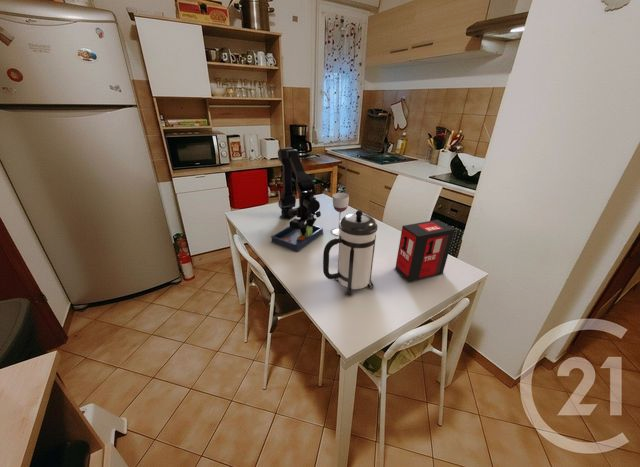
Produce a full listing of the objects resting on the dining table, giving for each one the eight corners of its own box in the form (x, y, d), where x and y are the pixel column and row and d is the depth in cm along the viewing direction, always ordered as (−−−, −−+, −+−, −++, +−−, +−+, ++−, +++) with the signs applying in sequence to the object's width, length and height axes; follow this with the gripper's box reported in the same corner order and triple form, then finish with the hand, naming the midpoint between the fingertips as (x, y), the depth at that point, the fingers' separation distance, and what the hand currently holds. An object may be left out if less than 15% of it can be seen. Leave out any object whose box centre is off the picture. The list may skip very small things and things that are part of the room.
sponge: (304, 232, 134) (304, 224, 132) (312, 235, 132) (312, 227, 130) (299, 235, 131) (299, 227, 129) (307, 238, 129) (307, 230, 127)
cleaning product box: (408, 282, 100) (418, 236, 91) (395, 269, 108) (402, 225, 99) (442, 273, 106) (455, 229, 96) (427, 261, 113) (437, 219, 104)
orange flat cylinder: (285, 238, 128) (285, 237, 128) (292, 241, 127) (292, 239, 126) (280, 242, 126) (280, 240, 125) (287, 244, 124) (286, 242, 123)
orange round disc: (299, 236, 130) (299, 235, 130) (306, 238, 129) (306, 237, 128) (295, 240, 127) (295, 238, 127) (302, 242, 126) (302, 240, 125)
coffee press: (340, 267, 109) (343, 199, 95) (377, 277, 103) (387, 206, 89) (322, 292, 95) (322, 216, 81) (364, 306, 89) (373, 227, 75)
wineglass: (329, 234, 135) (330, 197, 125) (334, 227, 142) (336, 191, 132) (344, 237, 132) (346, 199, 123) (349, 229, 139) (351, 194, 130)
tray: (298, 226, 143) (298, 220, 141) (322, 233, 135) (323, 227, 134) (271, 242, 127) (271, 236, 125) (297, 251, 119) (297, 245, 118)
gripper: (303, 196, 135) (304, 223, 142) (279, 207, 121) (281, 237, 128) (321, 200, 130) (321, 228, 137) (298, 212, 116) (299, 243, 123)
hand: (306, 233), depth 131 cm, fingers closed on sponge, 4 cm apart
